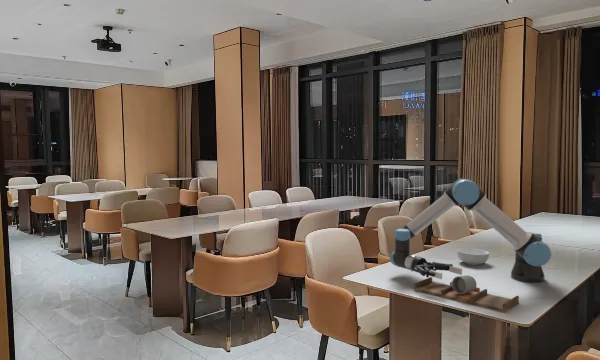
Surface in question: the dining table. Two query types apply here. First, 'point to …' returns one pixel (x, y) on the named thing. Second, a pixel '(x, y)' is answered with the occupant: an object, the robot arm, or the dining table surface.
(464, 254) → the cereal bowl
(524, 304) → the dining table surface
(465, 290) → the ceramic mug
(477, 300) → the rack
